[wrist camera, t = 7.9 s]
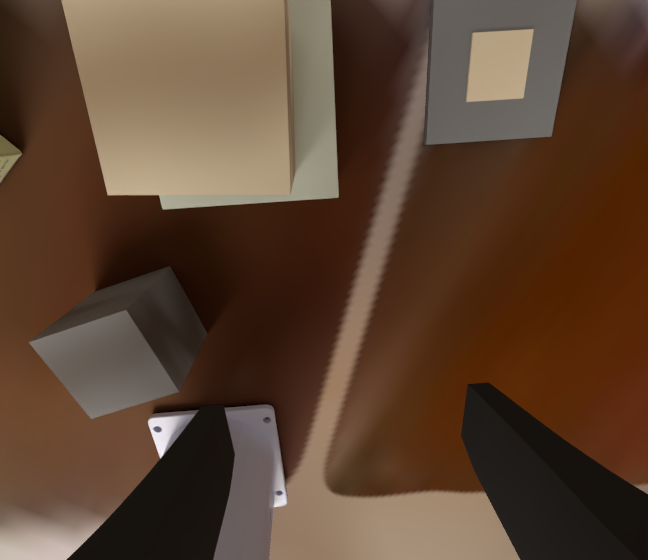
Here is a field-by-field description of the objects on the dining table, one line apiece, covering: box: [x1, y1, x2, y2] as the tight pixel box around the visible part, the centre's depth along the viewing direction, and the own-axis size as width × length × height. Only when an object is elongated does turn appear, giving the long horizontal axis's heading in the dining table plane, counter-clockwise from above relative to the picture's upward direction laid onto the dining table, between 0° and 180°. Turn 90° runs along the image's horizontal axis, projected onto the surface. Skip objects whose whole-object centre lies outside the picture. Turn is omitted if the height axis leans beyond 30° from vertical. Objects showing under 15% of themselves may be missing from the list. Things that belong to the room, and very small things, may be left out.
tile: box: [424, 0, 577, 145], centre depth 15 cm, size 6×6×1 cm
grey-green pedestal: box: [159, 0, 339, 209], centre depth 14 cm, size 7×7×4 cm
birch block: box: [62, 0, 296, 195], centre depth 10 cm, size 4×4×5 cm
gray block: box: [29, 266, 208, 419], centre depth 17 cm, size 4×4×5 cm
